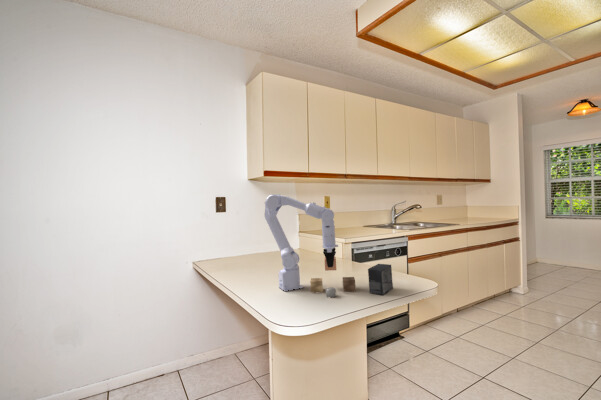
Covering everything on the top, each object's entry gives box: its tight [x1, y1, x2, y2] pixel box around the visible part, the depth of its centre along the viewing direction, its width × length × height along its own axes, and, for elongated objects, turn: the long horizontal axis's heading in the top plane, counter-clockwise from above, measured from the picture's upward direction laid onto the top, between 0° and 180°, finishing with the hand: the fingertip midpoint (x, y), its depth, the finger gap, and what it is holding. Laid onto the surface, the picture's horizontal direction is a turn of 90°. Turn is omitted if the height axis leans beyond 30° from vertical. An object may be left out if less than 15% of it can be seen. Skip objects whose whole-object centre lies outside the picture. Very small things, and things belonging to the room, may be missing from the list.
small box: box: [367, 263, 394, 296], centre depth 125 cm, size 11×6×10 cm, turn 141°
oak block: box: [310, 277, 324, 293], centre depth 130 cm, size 5×5×5 cm
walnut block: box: [342, 276, 357, 293], centre depth 129 cm, size 5×5×5 cm
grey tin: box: [325, 287, 337, 299], centre depth 122 cm, size 4×4×3 cm
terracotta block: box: [324, 256, 337, 272], centre depth 133 cm, size 5×5×5 cm
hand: (330, 265), depth 133 cm, fingers closed on terracotta block, 5 cm apart
